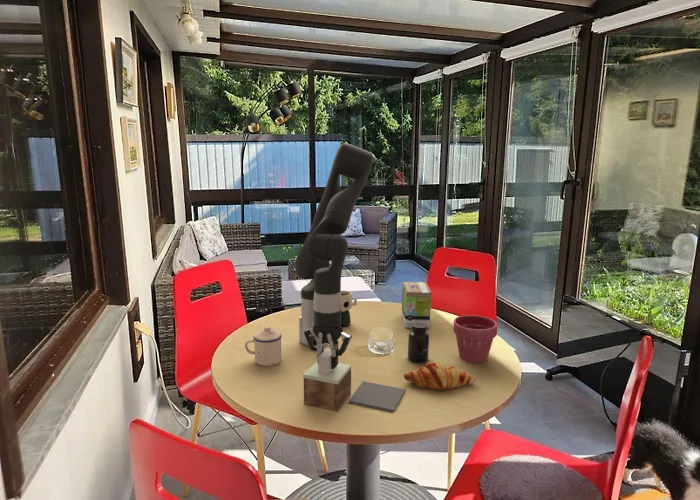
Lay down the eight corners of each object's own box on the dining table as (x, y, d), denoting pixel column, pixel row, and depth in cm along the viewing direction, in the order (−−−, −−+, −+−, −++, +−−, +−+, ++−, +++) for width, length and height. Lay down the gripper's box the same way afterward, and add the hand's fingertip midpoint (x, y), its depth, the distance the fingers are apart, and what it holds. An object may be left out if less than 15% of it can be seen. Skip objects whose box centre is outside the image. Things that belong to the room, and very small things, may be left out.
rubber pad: (348, 402, 133) (348, 400, 133) (362, 383, 144) (363, 381, 144) (393, 412, 129) (394, 409, 128) (405, 391, 140) (405, 389, 139)
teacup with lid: (283, 354, 163) (282, 321, 161) (280, 366, 155) (280, 332, 152) (247, 354, 163) (246, 322, 160) (243, 366, 154) (241, 332, 152)
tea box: (430, 328, 187) (432, 292, 184) (404, 328, 188) (405, 292, 184) (425, 315, 202) (426, 281, 199) (401, 315, 202) (402, 281, 199)
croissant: (471, 390, 148) (469, 363, 150) (480, 390, 138) (479, 361, 140) (402, 388, 147) (401, 362, 149) (406, 389, 138) (406, 360, 140)
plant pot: (451, 347, 170) (453, 312, 167) (492, 350, 168) (495, 315, 165) (452, 365, 156) (454, 327, 154) (496, 368, 154) (499, 331, 151)
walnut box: (303, 404, 132) (303, 377, 130) (319, 387, 141) (318, 362, 139) (337, 411, 128) (337, 384, 127) (350, 394, 138) (351, 368, 136)
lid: (303, 381, 130) (303, 357, 129) (318, 365, 140) (318, 343, 138) (337, 387, 127) (337, 363, 125) (351, 371, 136) (351, 348, 135)
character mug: (328, 327, 188) (328, 295, 185) (329, 320, 195) (329, 290, 192) (356, 328, 187) (356, 296, 185) (356, 321, 194) (357, 290, 192)
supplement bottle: (427, 364, 157) (429, 329, 154) (406, 362, 158) (407, 328, 155) (428, 355, 163) (430, 322, 161) (408, 353, 165) (409, 320, 162)
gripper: (297, 308, 128) (298, 368, 132) (346, 315, 123) (346, 377, 127) (309, 299, 135) (310, 357, 139) (357, 306, 130) (356, 365, 134)
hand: (327, 366), depth 133 cm, fingers closed on lid, 3 cm apart
